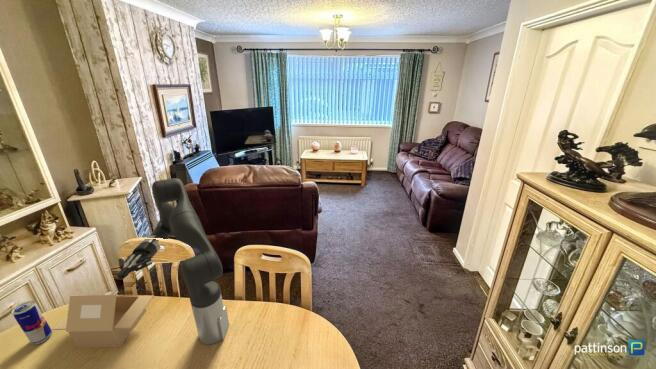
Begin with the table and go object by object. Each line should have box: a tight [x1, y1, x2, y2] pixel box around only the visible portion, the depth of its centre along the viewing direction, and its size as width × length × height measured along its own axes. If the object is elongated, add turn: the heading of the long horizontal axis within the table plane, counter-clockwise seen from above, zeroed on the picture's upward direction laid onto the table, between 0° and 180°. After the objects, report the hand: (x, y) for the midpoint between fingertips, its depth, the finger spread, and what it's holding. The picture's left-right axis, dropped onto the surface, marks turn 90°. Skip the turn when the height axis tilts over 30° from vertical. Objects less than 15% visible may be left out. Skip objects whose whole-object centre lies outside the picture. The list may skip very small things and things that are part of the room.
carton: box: [52, 294, 155, 348], centre depth 88 cm, size 24×14×8 cm, turn 93°
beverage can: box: [11, 300, 53, 345], centre depth 83 cm, size 5×5×15 cm
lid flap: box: [65, 294, 117, 333], centre depth 81 cm, size 14×11×1 cm
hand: (119, 277), depth 92 cm, fingers closed
